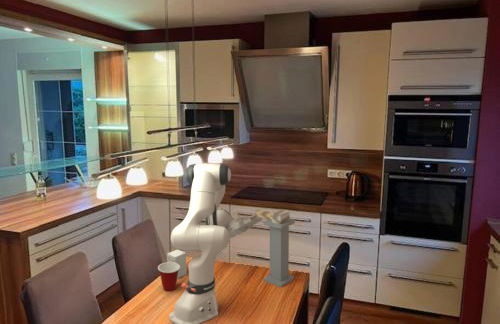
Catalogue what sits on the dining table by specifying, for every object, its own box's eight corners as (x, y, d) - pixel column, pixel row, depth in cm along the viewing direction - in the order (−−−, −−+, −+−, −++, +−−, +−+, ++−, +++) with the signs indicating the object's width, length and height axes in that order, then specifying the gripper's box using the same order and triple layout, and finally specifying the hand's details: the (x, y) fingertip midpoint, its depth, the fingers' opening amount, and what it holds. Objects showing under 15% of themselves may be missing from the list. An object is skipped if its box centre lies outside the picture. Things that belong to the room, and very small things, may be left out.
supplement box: (178, 270, 203) (177, 249, 201) (187, 274, 198) (186, 252, 196) (167, 275, 197) (166, 253, 195) (176, 279, 193) (175, 256, 191)
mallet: (289, 220, 187) (289, 210, 186) (280, 224, 181) (280, 214, 180) (261, 213, 199) (261, 205, 198) (252, 217, 192) (252, 208, 192)
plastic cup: (174, 295, 176) (173, 272, 175) (154, 292, 179) (153, 269, 178) (184, 285, 187) (183, 262, 185) (165, 282, 190) (164, 260, 188)
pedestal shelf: (281, 287, 183) (281, 226, 178) (263, 280, 190) (263, 221, 185) (294, 278, 192) (294, 220, 187) (277, 272, 199) (277, 216, 194)
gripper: (225, 224, 197) (241, 216, 188) (249, 215, 213) (265, 207, 204) (229, 235, 196) (246, 227, 187) (253, 225, 211) (270, 218, 203)
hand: (256, 217), depth 196 cm, fingers open, 8 cm apart
